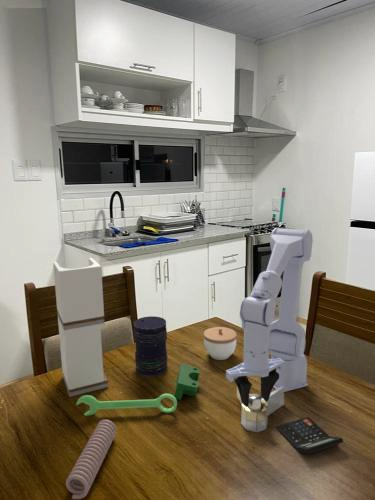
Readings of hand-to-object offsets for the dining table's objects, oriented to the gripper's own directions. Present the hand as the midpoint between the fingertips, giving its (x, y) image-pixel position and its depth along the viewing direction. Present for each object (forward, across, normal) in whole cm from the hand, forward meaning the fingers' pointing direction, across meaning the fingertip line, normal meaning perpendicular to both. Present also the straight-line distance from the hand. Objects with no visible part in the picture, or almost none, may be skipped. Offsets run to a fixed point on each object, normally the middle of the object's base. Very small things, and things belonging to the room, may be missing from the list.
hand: (254, 401), depth 91 cm
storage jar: (+6, -15, +35) cm, 39 cm away
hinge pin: (+6, 0, 0) cm, 6 cm away
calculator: (+7, +8, -9) cm, 14 cm away
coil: (+6, -37, +2) cm, 38 cm away
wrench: (+6, -27, +16) cm, 32 cm away
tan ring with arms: (+6, +4, +4) cm, 8 cm away
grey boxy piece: (+6, -35, +35) cm, 50 cm away
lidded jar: (+6, +8, +34) cm, 35 cm away
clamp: (+6, -10, +19) cm, 22 cm away
